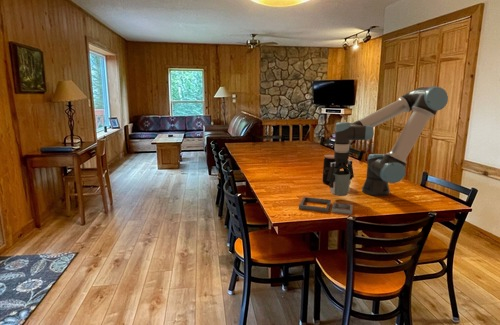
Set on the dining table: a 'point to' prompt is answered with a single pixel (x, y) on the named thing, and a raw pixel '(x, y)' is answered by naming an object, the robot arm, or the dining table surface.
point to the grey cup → (341, 183)
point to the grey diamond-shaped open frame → (342, 211)
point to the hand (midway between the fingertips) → (339, 191)
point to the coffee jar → (327, 167)
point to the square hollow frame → (314, 208)
